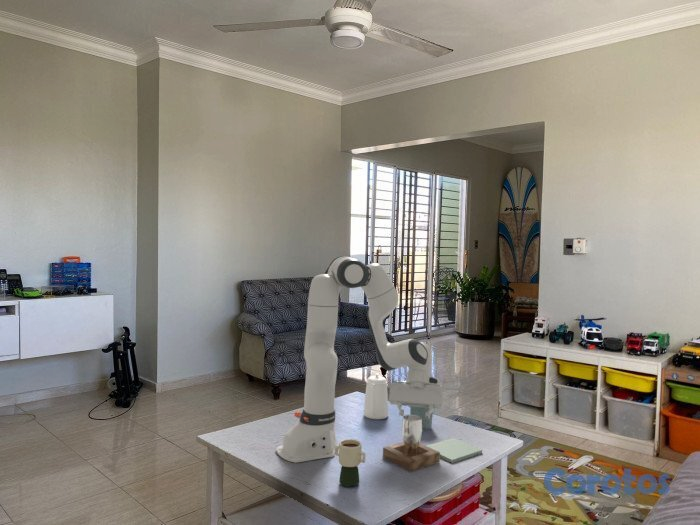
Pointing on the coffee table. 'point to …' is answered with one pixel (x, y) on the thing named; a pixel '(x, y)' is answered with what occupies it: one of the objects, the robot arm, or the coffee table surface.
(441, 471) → the coffee table surface
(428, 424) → the green plant pot
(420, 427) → the silver metal tumbler
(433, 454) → the walnut holder
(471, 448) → the sage board
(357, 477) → the character mug
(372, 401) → the coffeepot
